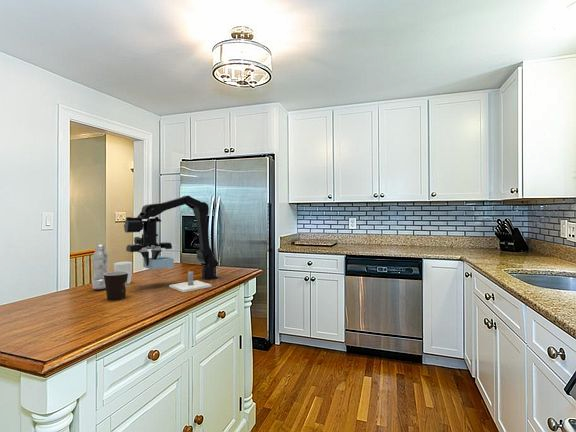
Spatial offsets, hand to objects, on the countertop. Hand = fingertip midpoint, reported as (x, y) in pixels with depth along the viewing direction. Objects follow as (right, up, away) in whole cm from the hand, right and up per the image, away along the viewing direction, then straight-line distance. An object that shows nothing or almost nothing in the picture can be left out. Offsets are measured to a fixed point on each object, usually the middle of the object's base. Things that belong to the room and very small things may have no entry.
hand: (150, 265), depth 145 cm
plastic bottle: (-20, -10, -4) cm, 23 cm away
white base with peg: (+18, -10, +1) cm, 21 cm away
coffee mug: (-5, -10, -17) cm, 20 cm away
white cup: (-16, -10, +8) cm, 21 cm away
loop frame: (+3, -1, +3) cm, 4 cm away
